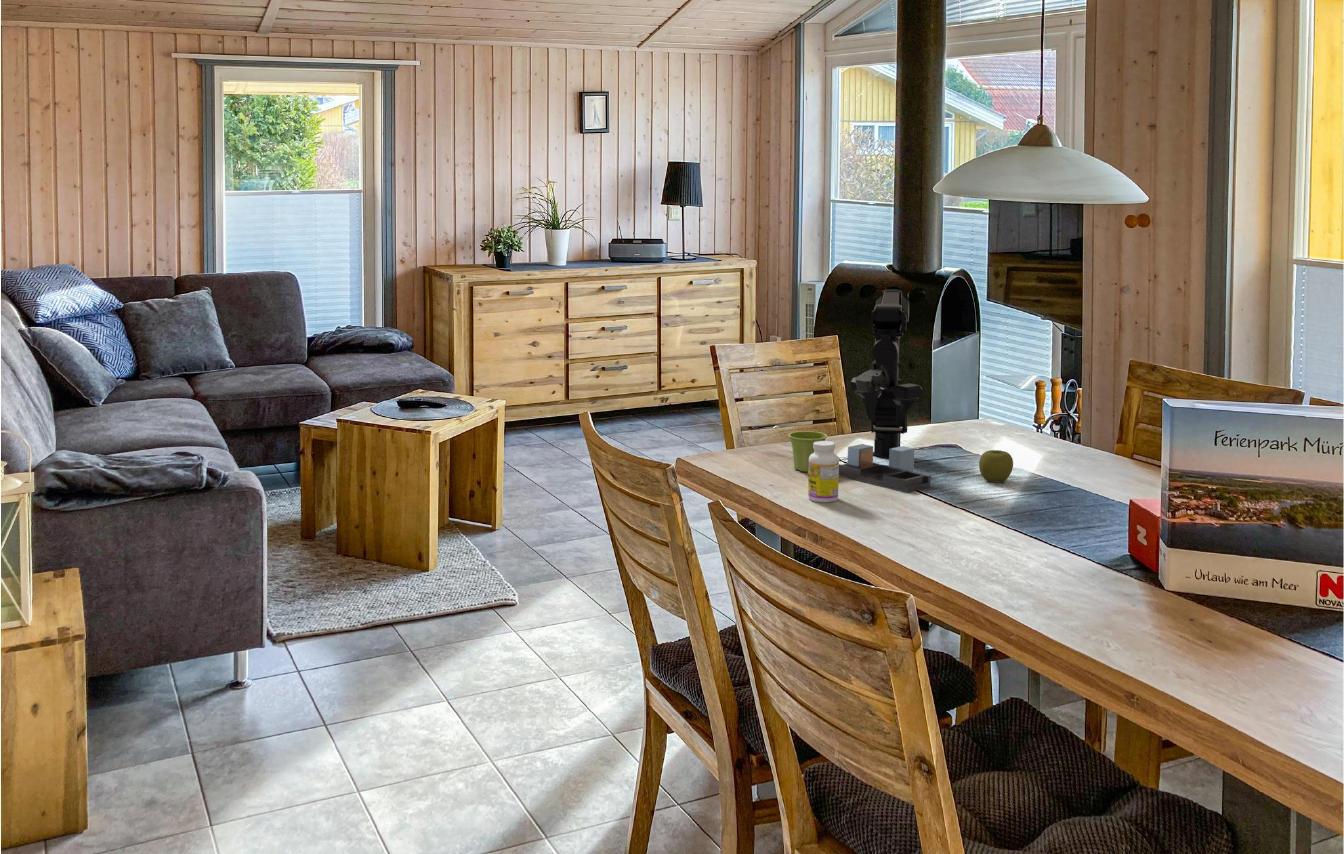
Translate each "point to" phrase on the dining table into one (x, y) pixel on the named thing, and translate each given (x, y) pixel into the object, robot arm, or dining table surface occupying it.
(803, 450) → the plant pot
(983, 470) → the apple
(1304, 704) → the dining table surface
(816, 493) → the supplement bottle
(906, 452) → the block
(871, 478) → the rail
